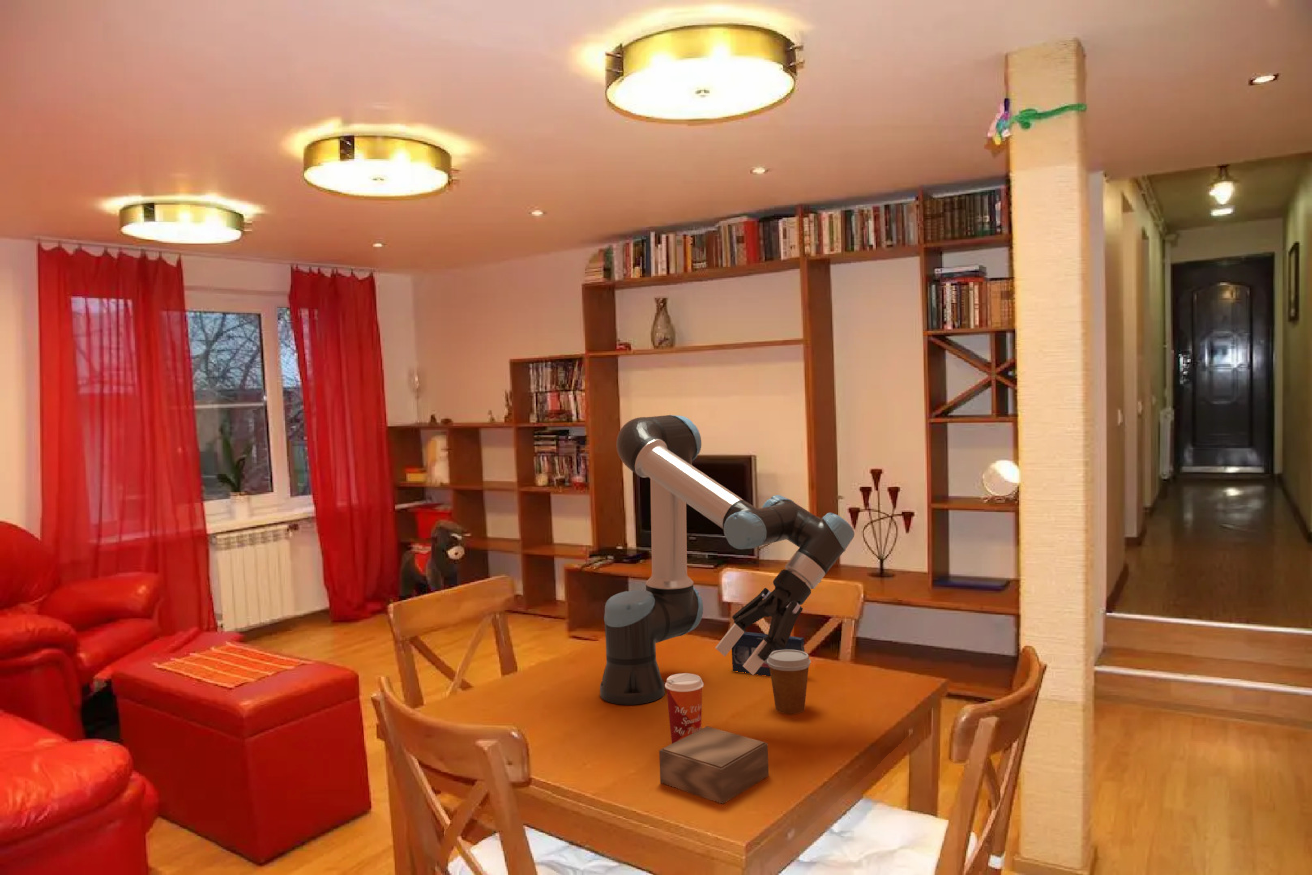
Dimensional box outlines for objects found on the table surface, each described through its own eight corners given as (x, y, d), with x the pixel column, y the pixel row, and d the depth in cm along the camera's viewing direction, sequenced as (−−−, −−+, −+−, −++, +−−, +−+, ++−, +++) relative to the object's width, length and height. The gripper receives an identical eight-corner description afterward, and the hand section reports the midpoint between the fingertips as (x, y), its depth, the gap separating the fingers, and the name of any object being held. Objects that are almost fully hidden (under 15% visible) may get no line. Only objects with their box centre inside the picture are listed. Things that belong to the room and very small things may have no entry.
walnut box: (660, 782, 161) (659, 748, 161) (707, 756, 171) (706, 725, 171) (722, 804, 152) (721, 768, 151) (768, 775, 162) (767, 741, 162)
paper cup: (678, 759, 171) (676, 687, 170) (660, 745, 178) (657, 676, 177) (713, 750, 174) (711, 680, 174) (694, 737, 181) (691, 669, 181)
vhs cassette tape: (731, 672, 223) (730, 632, 222) (736, 668, 225) (735, 629, 225) (801, 681, 214) (800, 640, 213) (806, 677, 216) (804, 637, 216)
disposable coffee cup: (811, 717, 190) (810, 662, 189) (766, 715, 192) (765, 661, 191) (812, 702, 199) (811, 649, 199) (769, 700, 201) (768, 648, 200)
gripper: (841, 603, 172) (774, 691, 168) (781, 579, 196) (721, 655, 191) (816, 579, 170) (747, 667, 166) (759, 557, 194) (697, 634, 189)
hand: (733, 661), depth 179 cm, fingers open, 13 cm apart
